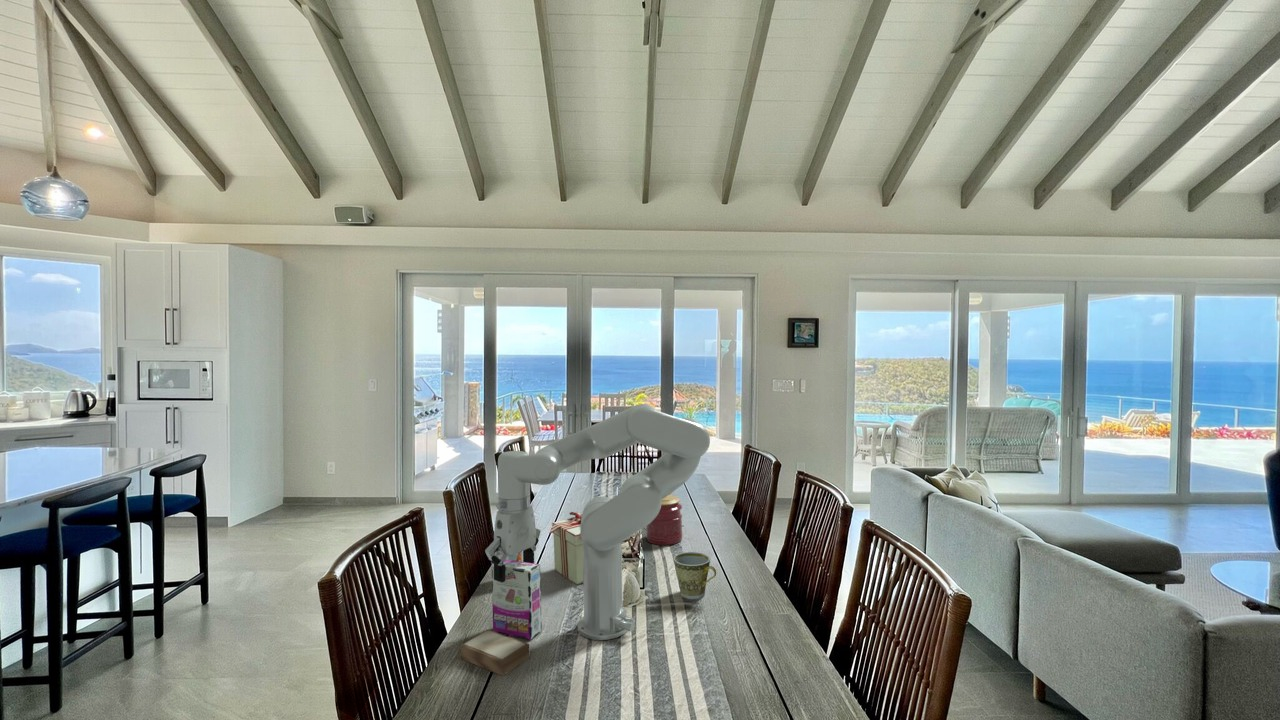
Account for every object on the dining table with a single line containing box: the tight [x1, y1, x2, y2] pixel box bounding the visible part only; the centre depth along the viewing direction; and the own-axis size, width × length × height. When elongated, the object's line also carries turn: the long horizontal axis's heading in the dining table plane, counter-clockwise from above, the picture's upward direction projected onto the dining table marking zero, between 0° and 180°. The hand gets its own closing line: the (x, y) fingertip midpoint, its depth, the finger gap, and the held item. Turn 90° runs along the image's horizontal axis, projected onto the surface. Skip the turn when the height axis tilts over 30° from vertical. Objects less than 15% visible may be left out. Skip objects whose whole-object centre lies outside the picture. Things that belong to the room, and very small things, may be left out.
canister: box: [645, 493, 683, 546], centre depth 197 cm, size 13×13×18 cm
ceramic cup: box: [673, 551, 717, 600], centre depth 151 cm, size 13×10×10 cm
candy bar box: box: [491, 560, 543, 640], centre depth 133 cm, size 11×5×16 cm, turn 68°
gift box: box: [549, 511, 583, 585], centre depth 168 cm, size 17×18×17 cm
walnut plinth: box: [459, 628, 530, 677], centre depth 122 cm, size 13×8×3 cm, turn 58°
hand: (514, 573), depth 133 cm, fingers open, 9 cm apart
